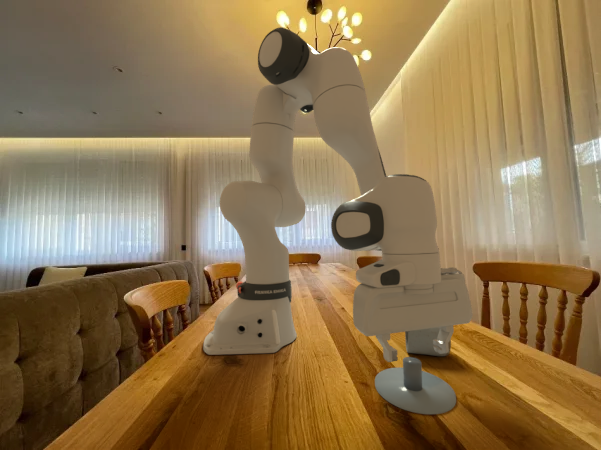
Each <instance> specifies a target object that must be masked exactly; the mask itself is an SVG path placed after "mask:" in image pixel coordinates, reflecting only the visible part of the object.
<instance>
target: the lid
mask: <svg viewBox="0 0 601 450" xmlns="http://www.w3.org/2000/svg"><path fill="white" fill-rule="evenodd" d="M374 378H375V379H374V386H375V387H374V388H375V390H376V392H377V393H378V394H379V395H380V396H381V397H382V399H384V400H385V401H386V402H388V403H390V404H391V405H393V406H395V407H398V408H399V409H402V410H404V411H408V412H412V413H415V414H421V415H439V414H441V415H442V414H445V413H447V412H449V411H451V410H452V409H453V408H454V407H455V406H456V404H457V395H456V392H455V390H454V388H452V386H451V385H450V384H449V383H448V382H446V381H445V380H444V379H442V378H440V377H439V376H437V375H434V374H433V373H430V372H427V371H424V370H423V367H422V361H421V360H420V359H419V358H417V357H412V356H407V357H406V356H404V357H403V358H402V367H391V368H385V369H384V370H380V372H378V373H377V374H376V376H375V377H374Z"/></svg>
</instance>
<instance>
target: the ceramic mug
mask: <svg viewBox="0 0 601 450" xmlns="http://www.w3.org/2000/svg"><path fill="white" fill-rule="evenodd" d="M439 331H440V329H439V328H437V327H436V328H428V329H421V330H413V331H406V332H404V333H405V334H404V335H405V349H406V353H408V354H417V355H425V356H435V357H446V356H449V354H450V353H451V346H452V342H451V341H452V338H451V339H450V341H449V342H448V346H449V352H448V353H443V354H439V353H438V352H436V351H435V350H434V347H433V346H434V344H433V340H435V339H437V337H438V334H439Z"/></svg>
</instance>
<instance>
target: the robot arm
mask: <svg viewBox="0 0 601 450" xmlns="http://www.w3.org/2000/svg"><path fill="white" fill-rule="evenodd" d="M257 65H258V71H259V72H260V73H261V75H262V76H263V77H264V78H265V79H266V80H267V81H268V82H269V83H270V84H267V85H265V86H263V87H262V88H261V89H260V90H259V91H258V93H257V96H256V99H255V103H254V107H253V112H252V119H251V126H250V140H249V141H250V142H249V153H248V156H249V161H250V162H251V164H252V165H253V167H254V168H255V169H256V170H257V172H258V175H259V177H260V182H259V181H253V180H234V181H231V182H229V183H227V184H226V186H225V187H223V190H222V192H221V194H220V198H219V208H220V212H221V214H222V215H223V217H224V218H225V220H226V221H228V223H230V224H231V225H232V227H233V228H234V229H235V231H236V232H237V234H238V235H239V238H240V242H241V244H242V246H243V247H242V248H243V250H244V262H245V265H244V266H245V281H244V282H243V281H238V282H237V283H236V286H235V287H236V290H237V298H236V299H234V300H233V301H231V303H229V304H228V305H227V306H226V307H225V308H223V309H222V310H221V311H220V312H219V314H217V317H216V319H215V321H214V326H213V330H211V331H210V332H209V333H208V334H207V335H206V336H205V338H204V340H203V347H202V349H203V352H204V353H206V354H207V355H215V356H216V355H247V354H274V353H277V352H278V351H280V349H281V348H283V347H284V346H286V345H289V344H290V343H293V342H294V340H296V338H297V332H296V328H295V324H294V319H293V314H292V313H293V312H292V305H291V302H292V297H293V295H292V294H293V293H292V289H293V288H292V281H291V279H290V252H289V250H288V248H287V246H286V245H285V244H284V243H282V242H281V240H280V238H279V236H278V233H277V230H276V228H286V227H292V226H295V225H297V224H300V222H301V221H303V219H304V217H305V213H306V208H307V207H306V206H307V205H306V201H305V199H304V198H303V197H302V194H301V193H300V191H299V189H298V185H297V183H296V177H295V173H294V167H293V157H294V156H293V153H294V138H295V125H296V124H295V122H296V116H297V114H298V113H299V111H301V112H302V113H304V114H309V113H310V112H312V111H313V115H314V121H315V126H316V128H317V131H318V133H319V136H320V138H321V139H322V141H323V142H324V143H325V145H327V146H328V147H330V148H331V149H332V150H333V151H334V152H336V154H338V155H339V156H341V157H342V158H343V159H344V160H345V161H346V162H347V163H348V164H349V166H350V168H352V170H353V172H354V174H355V178H356V180H357V184H358V188H359V192H360V196H358V197H356V198H354V199H352V200H349V201H346V202H343V203H342V204H340V205H339V206H338V207H337V208H336V210H335V211H334V213H333V215H332V218H331V223H330V226H331V227H330V228H331V234H332V237H333V238H334V241H335V242H336V243H337V244H338V246H340V247H341V248H342V249H344V250H348V251H351V252H352V251H353V252H363V251H364V252H365V251H366V252H368V251H378V252H379V251H380V252H381V259H380V260H378V261H376V262H374V263H370V264H368V265H365V266H364V267H361V268H359V269H357V270H356V272H355V278H356V282H358V283H359V284H358V285H357V286H356V288H355V290H354V292H353V299H352V300H353V302H352V320H353V325H354V327H355V329H357V331H359V332H360V333H361V334H363V336H366V337H374V336H375V338H376V340H377V341H378V343H379V344H380V346H381V347H382V352H383V353H382V354H383V355H382V356H383V359H384V360H385V361H386V362H387V363H392V362H397V361H398V360H399V359H398V356H399V355H398V349H396V348H394V347H393V346H391V345H390V344H389V341H391V334H397V333H405V332H406V331H413V330H421V329H428V328H436V327H437V328H439V329H440V331H439V334H438V337H437V339H435V340H433V344H434V346H433V347H434V350H435V351H436V352H438V353H439V354H443V353H448V352H449V346H448V342H449V341H450V339H451V340H452V336H453V334H454V333H455V331H454V326H458V325H464V324H469V323H471V320H472V319H473V308H472V303H471V298H470V294H469V289H468V286H467V284H466V277H465V274H463V273H462V271H461V270H459V269H457V267H447V268H445V267H444V268H443V267H442V268H441V258H440V248H439V246H438V243H437V239H436V233H437V228H438V219H437V218H438V217H437V209H436V203H435V197H434V193H433V189H432V186H431V185H430V183H429V182H428V181H427V180H426V179H424V178H423V177H420V176H418V175H415V174H405V173H402V174H400V173H398V174H396V173H395V174H390V175H387V174H386V170H385V167H384V162H383V159H382V156H381V152H380V150H379V146H378V142H377V138H376V135H375V131H374V126H373V122H372V117H371V112H370V108H369V103H368V98H367V93H366V89H365V85H364V84H365V83H364V79H363V78H362V75H361V71H360V69H359V67H358V63H357V61H356V59H355V57H354V56H353V54H352V53H351V52H350V51H349V50H348V49H345V48H344V47H330V48H328V49H325V50H324V51H322V52H321V53H319V52H318V51H317V50H316V49H315V48H313V47H312V46H311V45H309V44H308V42H306V41H305V40H304V39H303V38H302V37H301V36H300V35H299V34H298V33H296V32H293V31H292V30H290V29H289V28H285V27H277V28H274V29H273V30H270V31H269V32H268V33H267V34H266V35H265V37H264V38H263V39H262V41H261V43H260V45H259V50H258V54H257Z"/></svg>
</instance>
